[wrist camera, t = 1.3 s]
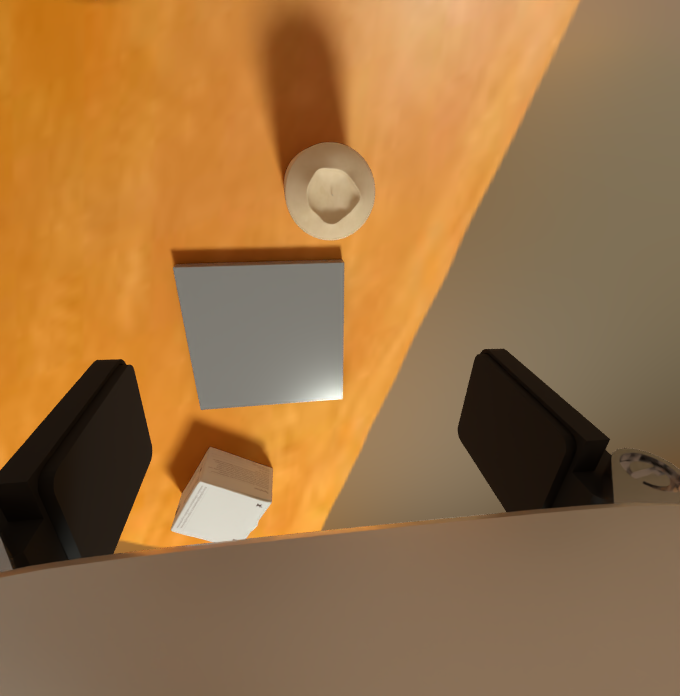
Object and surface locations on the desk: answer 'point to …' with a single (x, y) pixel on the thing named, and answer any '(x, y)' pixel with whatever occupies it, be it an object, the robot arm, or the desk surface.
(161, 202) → the desk surface
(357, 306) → the desk surface
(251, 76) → the desk surface
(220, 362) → the slate coaster
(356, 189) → the candle
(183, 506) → the small box
